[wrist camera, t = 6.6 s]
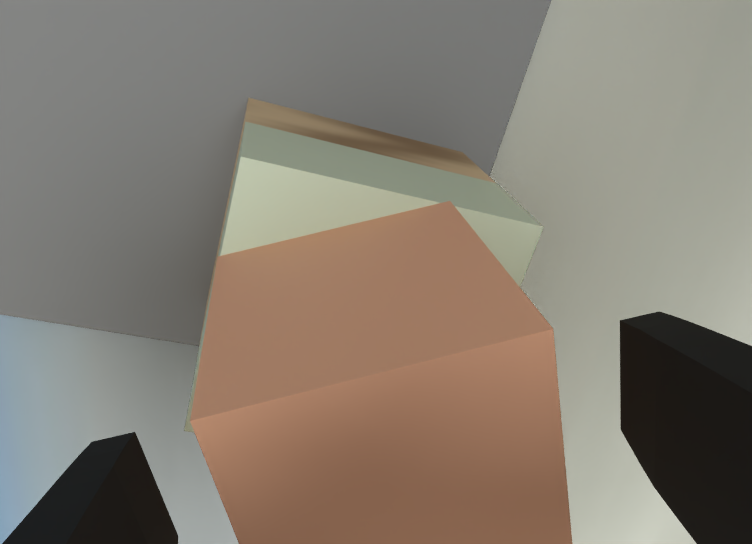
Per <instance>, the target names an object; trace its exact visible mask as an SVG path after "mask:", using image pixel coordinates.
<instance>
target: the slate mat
mask: <svg viewBox="0 0 752 544" xmlns="http://www.w3.org/2000/svg"><path fill="white" fill-rule="evenodd" d="M550 3H551V0H0V314H1V315H8V316H14V317H20V318H27V319H33V320H39V321H45V322H52V323H58V324H64V325H71V326H77V327H83V328H89V329H96V330H102V331H108V332H115V333H121V334H127V335H133V336H140V337H146V338H152V339H159V340H165V341H171V342H178V343H184V344H190V345H196V346H199V344H200V338H201V332H202V327H203V321H204V315H205V310H206V304H207V299H208V294H209V289H210V284H211V279H212V274H213V269H214V265H215V260H216V255H217V250H218V245H219V240H220V235H221V230H222V225H223V221H224V216H225V211H226V206H227V201H228V196H229V191H230V186H231V181H232V176H233V172H234V167H235V162H236V157H237V152H238V147H239V142H240V137H241V132H242V128H243V123H244V118H245V113H246V108H247V103H248V98H252V99H256V100H260V101H264V102H268V103H272V104H276V105H280V106H283V107H287V108H291V109H295V110H299V111H303V112H307V113H311V114H315V115H319V116H323V117H327V118H331V119H334V120H338V121H342V122H346V123H350V124H354V125H358V126H362V127H366V128H370V129H374V130H378V131H381V132H385V133H389V134H393V135H397V136H401V137H405V138H409V139H413V140H417V141H421V142H425V143H429V144H432V145H436V146H440V147H444V148H448V149H452V150H456V151H460V152H463V153H464V154H465V155H466V156H467V157H468V158H469V159H470V160H472V161H473V162H474V163H475V164H476V165H477V166H478V167H479V168H480V169H481V170H482V171H484V172H485V173H486V174H487V175H488V176H490V173H491V170H492V167H493V164H494V161H495V159H496V156H497V153H498V150H499V147H500V144H501V142H502V139H503V136H504V133H505V130H506V127H507V125H508V122H509V119H510V116H511V113H512V110H513V108H514V105H515V102H516V99H517V96H518V93H519V91H520V88H521V85H522V82H523V79H524V76H525V73H526V71H527V68H528V65H529V62H530V59H531V56H532V54H533V51H534V48H535V45H536V42H537V39H538V37H539V34H540V31H541V28H542V25H543V22H544V20H545V17H546V14H547V11H548V8H549V5H550Z"/></svg>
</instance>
